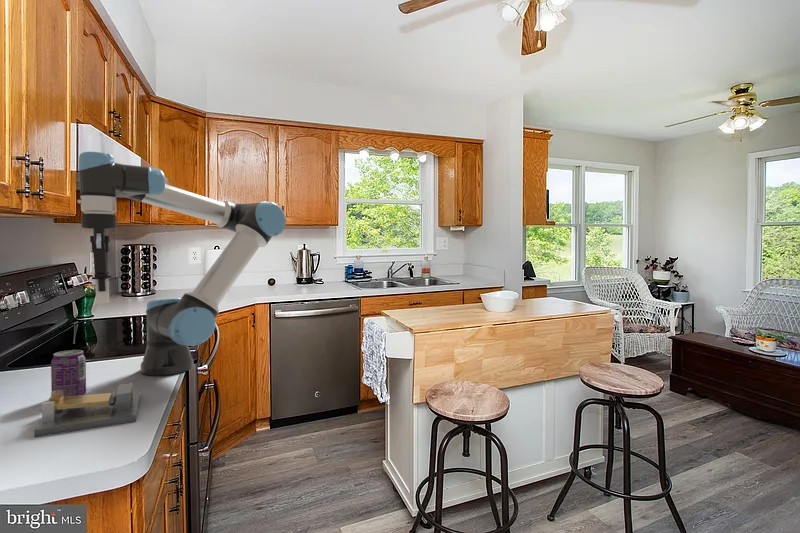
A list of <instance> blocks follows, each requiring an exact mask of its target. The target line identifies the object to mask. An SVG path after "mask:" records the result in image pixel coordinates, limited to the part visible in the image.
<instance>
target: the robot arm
mask: <svg viewBox="0 0 800 533" xmlns="http://www.w3.org/2000/svg"><path fill="white" fill-rule="evenodd" d="M77 171H78V175H79V176H78V178H79V191H80V192H79V193H80V194H79V195H80V199H77V201H76V202H77V203H78V204H80V211H81V212H82V214H81V215H80V216H81V217H80V219H81V220H80V221H81V225H80V226H81V228H83V229H87V230H88V229H89V230H90V229H91V230H92V229H93V235H89V238H90V239H89V240H90V241H89V242H90V244H91V252H92V254H93V264H94V265H93V268H94V276H92V277H91V280H95V302H96V305H103V304H104V305H105V304H110V287H109V286H110V285H109V284H110V283H109V282H110V281H109V279H111V278H112V275H109V273H110V272H109V265H108V263H109V262H108V261H109V257H108V253H109V251H110V244H109V243H110V235H107V230H116V229H117V227H118V220H117V215H116V214H115V213H117V198H120V199H121V198H122V199H125V198H126V199H130V200H132V201H138V202H142V203H145V204H148V205H152V206H155V207H157V208H158V207H159V208H162V209H165V210H169V211H173V212H176V213H179V214H184V215H187V216H191V217H194V218H197V219H200V220H204V221H208V222H211V223H215V224H216V226H217V227H218V228H221V229H226V230H229V231H231V232H234V233H235V234H234V235H233V237H232V238H231V240H230V241H229V243H228V244H227V245H226V246H225V248H224V249H223V251H222V252H221V253H220V254H219V256H218V257H217V259H216V260H215V261H214V263H212V266H211V267H209V269H208V271H207V272H206V273H205V275H204V276H203V278H202V279H201V280H200V281H199V282H198V284H197V286H196V287H195V288H194V290H192V291H190V292H184V294H183V295H182V297H178V298H165V299H164V298H163V299H152V300H149V301H148V302H147V303H146V310H145V313H146V316H145V317H146V348H145V351H144V355H143V360H142V361H141V363H140V369H139V370H140V373H141V374H142V375H146V376H153V377H155V376H157V377H159V376H169V375H170V376H171V375H175V374H176V375H178V374H181V373H185V372H187V371H190V370H192V369H193V368H194V362H195V361H194V358H193V356H192V355H191V350H190V347H192V346H193V347H195V346H197V345H202V344H203V343H205V342H206V341H208V339H210V338H211V337H212V335H213V333H214V331H215V329H216V319H217V317H218V316H219V314H220V312H219V311H220V310H219V305H220V303H221V302H222V301H223V299H224V298H225V296H226V295H227V293H228V292H229V291H230V289H231V288H232V286H234V284H235V282H236V281H237V280H238V278H239V277H240V275H241V274H242V272H244V269H245V268H246V267H247V265H248V264H249V262H250V261H251V259H252V258H253V257H254V255H255V253H256V252H257V251H258V249H259V248H263V247H266V246H267V245H268V243H269V242H270V241H271V240H272V238H273V237H277V236H279V235H281V234H282V233H283V232H284V230H285V227H286V224H287V223H286V221H287V219H286V215H285V212H284V210H283V208H282V207H281V206H279V205H278V204H277V203H275V202H272V201H261V202H251V203H236V202H235V203H234V202H232V201H228V200H224V201H218V200H215V199H212V198H210V197H207V196H203V195H200V194H197V193H195V192H191V191H188V190H185V189H183V188H179V187H177V186H172V185H169V184H168V183H167V184H166V176H165V173H164V171H163V170H162V169H160V168H155V167H151V166H142V165H132V164H131V165H130V164H124V163H118V162H116V161H115V157H114V156H113V155H112V154H110V153H105V152H100V151H84V152H81V153H80V154H79V156H78V169H77ZM189 346H190V347H189Z"/></svg>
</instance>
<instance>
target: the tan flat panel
mask: <svg viewBox="0 0 800 533" xmlns="http://www.w3.org/2000/svg"><path fill="white" fill-rule="evenodd" d="M116 393H117V391H113V392H107V393H93V394H92V393H91V394H85V395H79V396H67V397H64V393H57V394H52V396H51V395H50V397H49V398H48V402H50V401H55V410H60V409H71V408H82V407H93V406H103V405H110V406H113V405H115V403H116ZM111 395H112V397H111ZM110 399H111V400H110ZM109 402H110V403H109Z"/></svg>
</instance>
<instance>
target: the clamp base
mask: <svg viewBox="0 0 800 533" xmlns="http://www.w3.org/2000/svg"><path fill="white" fill-rule="evenodd" d="M133 386H134V384H133V382H129V383H122V384H119V385H118V386H117V391H116V392H117V393H116V403H115V405H113V406H110V405H103V406H93V407H82V408H71V409H60V410H55V401H50V402H49V401H43V402H42V404H41V410H42V411H41V417H42V418H41V420H40V421H39V423H38V424H37V425H36V426H35V428H34V430H33V437H34V438H39V437H46V436H53V435H58V434H64V433H70V432H77V431H84V430H89V429H95V428H103V427H108V426H109V427H110V426H115V425H121V424H123V425H124V424H128V423H134V422H137V420H138V419H137V418H138V414H139V413H138V412H139V405H140V400H141V390H137V391H133V389H134V388H133ZM57 393H63V389H62V390H54V391H52V392H51V391H50V397H51V396H52V394H57ZM111 397H112V394H111ZM110 400H111V399H110ZM109 403H110V402H109Z"/></svg>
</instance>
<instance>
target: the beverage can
mask: <svg viewBox="0 0 800 533" xmlns="http://www.w3.org/2000/svg"><path fill="white" fill-rule="evenodd" d="M86 359H87V358H86V356H85V354H84V350H81V349H72V350H71V349H70V350H62V351H58V352H55V353H53V358H52V359H51V361H50V371H51V372H50V374H51V375H50V376H51V377H50V380H51V383H50V384H51V388H50V389H51V390H50V393H51V392H52V391H54V390H62V389H63V393H64V397H67V396H79V395H87V367H86V366H87V364H86V363H87V362H86Z"/></svg>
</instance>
